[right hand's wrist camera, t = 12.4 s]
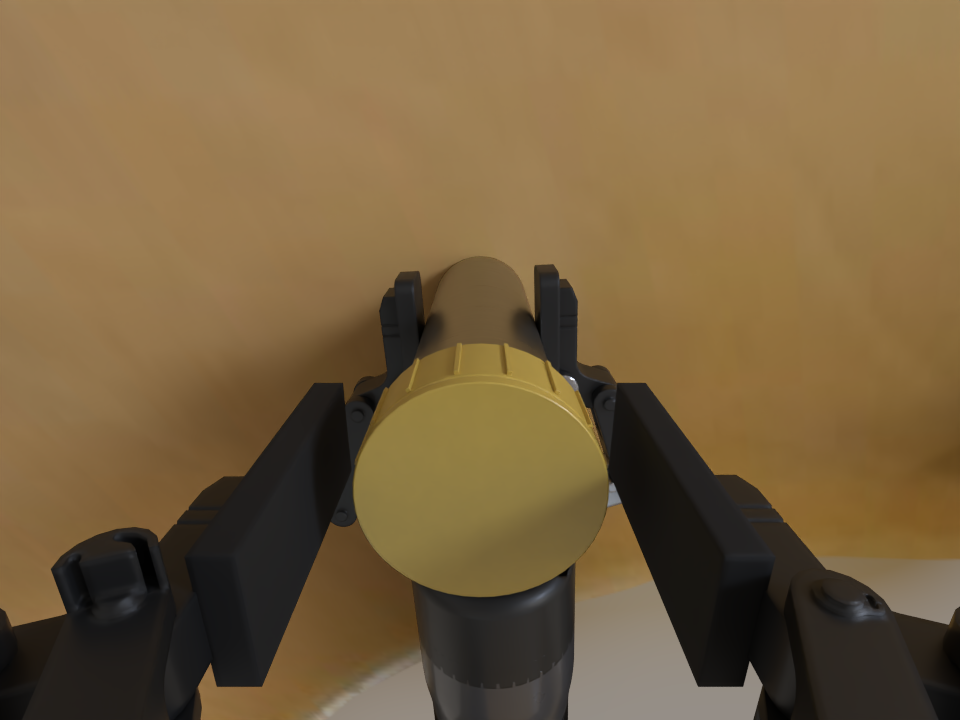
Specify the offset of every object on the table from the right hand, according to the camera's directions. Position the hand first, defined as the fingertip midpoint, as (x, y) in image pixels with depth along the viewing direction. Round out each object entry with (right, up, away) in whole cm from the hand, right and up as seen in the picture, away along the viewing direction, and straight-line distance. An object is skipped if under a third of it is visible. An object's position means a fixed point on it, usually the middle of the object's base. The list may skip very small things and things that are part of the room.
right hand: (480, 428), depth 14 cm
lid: (0, -1, -3) cm, 3 cm away
